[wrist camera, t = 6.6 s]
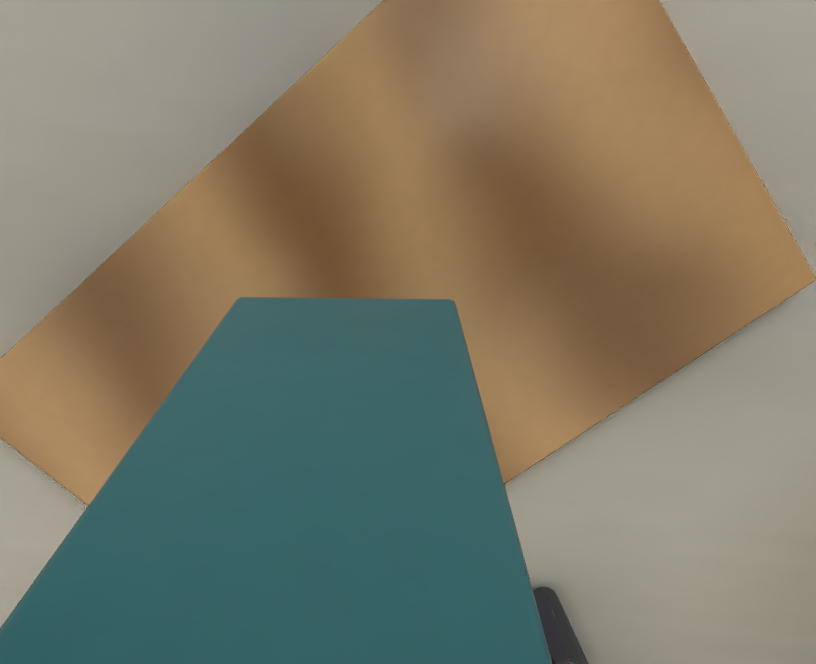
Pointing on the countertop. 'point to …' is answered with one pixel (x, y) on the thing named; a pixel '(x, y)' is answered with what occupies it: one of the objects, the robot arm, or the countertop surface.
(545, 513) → the countertop surface
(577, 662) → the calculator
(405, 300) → the letter H
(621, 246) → the wooden board
